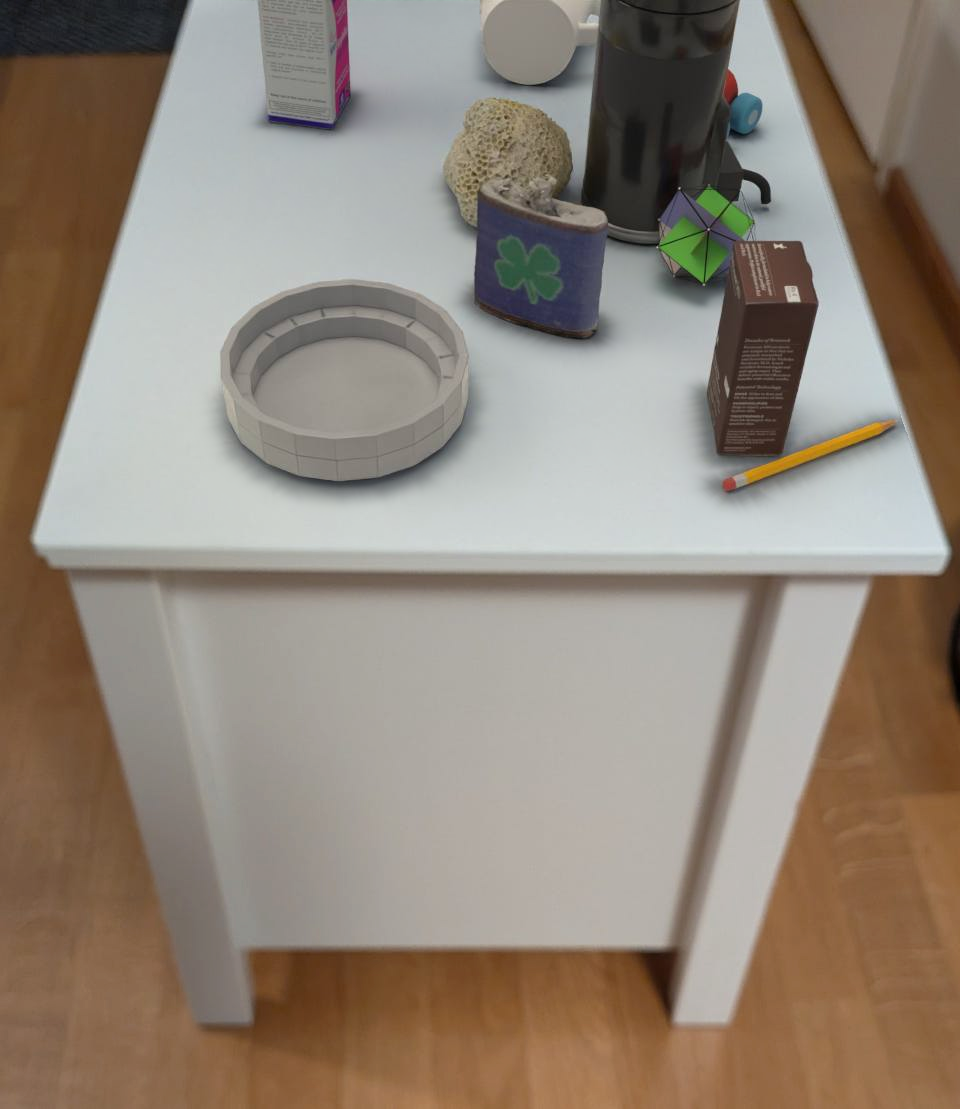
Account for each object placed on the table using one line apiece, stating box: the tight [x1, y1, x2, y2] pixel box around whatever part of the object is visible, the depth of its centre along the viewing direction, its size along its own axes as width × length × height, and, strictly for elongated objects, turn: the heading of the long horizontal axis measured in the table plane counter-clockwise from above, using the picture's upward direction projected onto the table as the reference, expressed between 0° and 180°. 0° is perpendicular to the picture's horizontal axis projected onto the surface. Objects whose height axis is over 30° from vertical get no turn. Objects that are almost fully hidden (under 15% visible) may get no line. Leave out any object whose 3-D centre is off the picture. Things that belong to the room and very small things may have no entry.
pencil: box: [721, 419, 900, 493], centre depth 78 cm, size 1×13×1 cm
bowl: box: [219, 278, 469, 482], centre depth 79 cm, size 15×15×4 cm
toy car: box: [723, 68, 763, 141], centre depth 101 cm, size 9×9×10 cm
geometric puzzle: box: [655, 184, 757, 287], centre depth 88 cm, size 7×7×8 cm
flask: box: [473, 175, 609, 339], centre depth 83 cm, size 9×3×11 cm, turn 63°
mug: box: [479, 0, 600, 86], centre depth 108 cm, size 12×9×8 cm
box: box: [706, 240, 820, 457], centre depth 75 cm, size 6×4×12 cm
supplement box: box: [257, 0, 352, 130], centre depth 100 cm, size 6×6×12 cm
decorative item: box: [442, 97, 574, 229], centre depth 94 cm, size 12×9×10 cm
